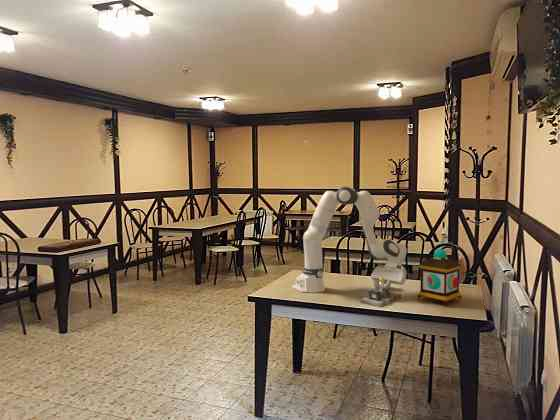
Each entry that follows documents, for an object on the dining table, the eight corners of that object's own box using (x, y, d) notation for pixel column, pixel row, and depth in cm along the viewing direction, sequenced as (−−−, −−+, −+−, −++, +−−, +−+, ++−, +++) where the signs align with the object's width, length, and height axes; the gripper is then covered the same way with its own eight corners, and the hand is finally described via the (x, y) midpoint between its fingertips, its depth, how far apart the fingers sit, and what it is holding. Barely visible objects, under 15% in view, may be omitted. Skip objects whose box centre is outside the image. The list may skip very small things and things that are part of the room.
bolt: (380, 293, 247) (380, 276, 246) (385, 294, 244) (385, 277, 244) (371, 297, 239) (371, 279, 239) (376, 298, 237) (376, 280, 236)
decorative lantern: (464, 301, 241) (466, 248, 239) (447, 308, 228) (448, 252, 226) (431, 294, 256) (432, 244, 254) (413, 300, 243) (414, 248, 241)
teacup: (391, 291, 262) (391, 279, 262) (373, 291, 264) (373, 278, 264) (389, 286, 276) (390, 274, 275) (372, 285, 278) (372, 273, 278)
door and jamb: (382, 294, 257) (382, 283, 257) (401, 298, 249) (401, 287, 248) (360, 302, 240) (360, 291, 239) (379, 307, 231) (379, 295, 231)
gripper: (374, 262, 257) (365, 281, 251) (406, 267, 243) (397, 287, 237) (378, 268, 261) (369, 287, 254) (409, 273, 247) (401, 293, 240)
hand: (383, 287), depth 246 cm, fingers closed, pressing on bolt
